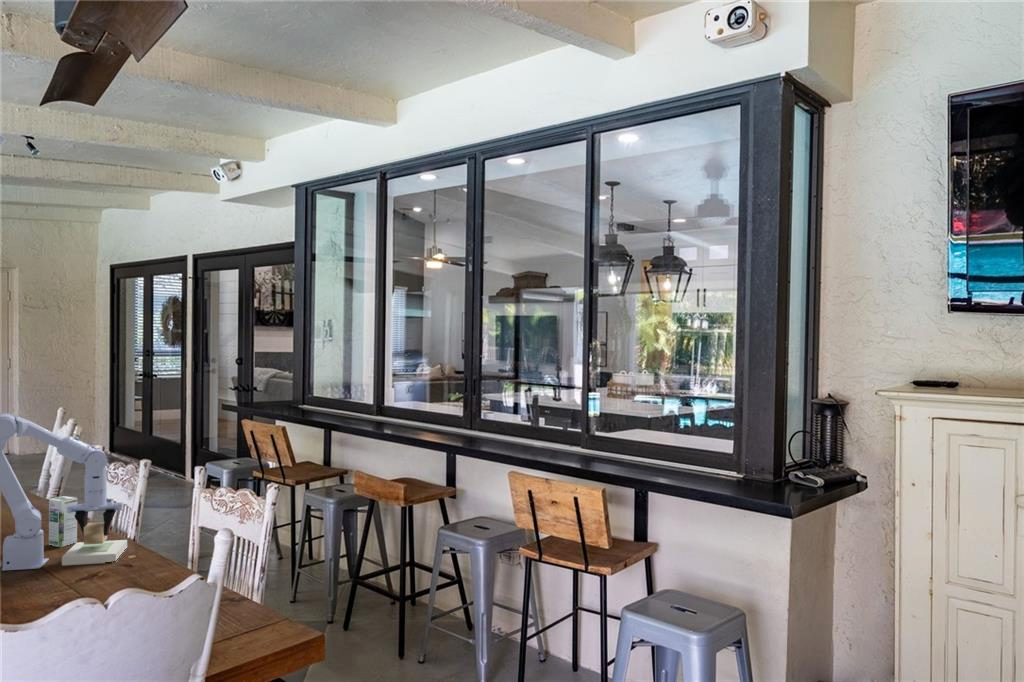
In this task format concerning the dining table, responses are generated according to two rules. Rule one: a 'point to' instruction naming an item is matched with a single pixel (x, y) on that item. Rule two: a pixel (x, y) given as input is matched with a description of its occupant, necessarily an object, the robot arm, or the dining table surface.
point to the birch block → (94, 533)
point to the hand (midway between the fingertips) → (95, 535)
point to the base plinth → (94, 552)
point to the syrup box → (62, 522)
